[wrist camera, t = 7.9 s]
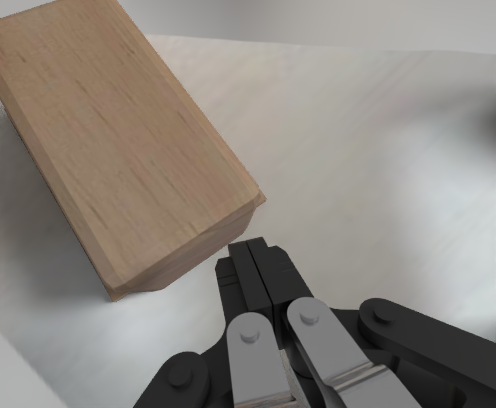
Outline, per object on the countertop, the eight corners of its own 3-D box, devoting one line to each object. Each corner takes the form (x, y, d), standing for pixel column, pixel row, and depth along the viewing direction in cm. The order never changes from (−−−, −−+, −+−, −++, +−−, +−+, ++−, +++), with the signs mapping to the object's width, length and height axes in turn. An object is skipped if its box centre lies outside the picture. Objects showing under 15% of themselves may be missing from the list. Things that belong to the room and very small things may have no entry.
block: (105, 301, 12) (-49, 24, 16) (154, 296, 22) (49, 122, 26) (270, 192, 15) (104, -24, 19) (250, 229, 24) (142, 81, 28)
